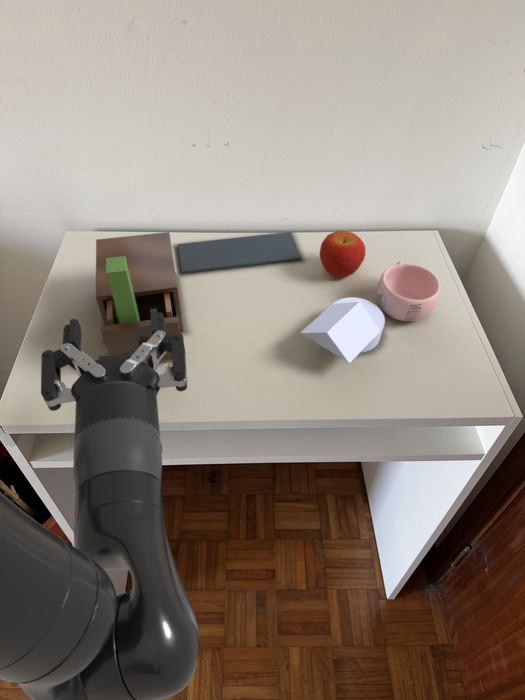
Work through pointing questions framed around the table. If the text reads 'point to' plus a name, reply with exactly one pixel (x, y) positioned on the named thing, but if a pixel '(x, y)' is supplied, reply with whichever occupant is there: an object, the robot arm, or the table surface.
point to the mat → (237, 252)
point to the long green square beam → (122, 289)
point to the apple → (342, 253)
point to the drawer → (138, 325)
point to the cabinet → (139, 268)
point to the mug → (408, 291)
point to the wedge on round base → (347, 327)
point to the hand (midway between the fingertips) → (115, 319)
